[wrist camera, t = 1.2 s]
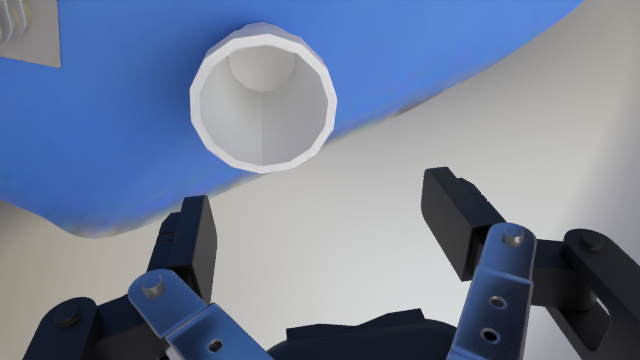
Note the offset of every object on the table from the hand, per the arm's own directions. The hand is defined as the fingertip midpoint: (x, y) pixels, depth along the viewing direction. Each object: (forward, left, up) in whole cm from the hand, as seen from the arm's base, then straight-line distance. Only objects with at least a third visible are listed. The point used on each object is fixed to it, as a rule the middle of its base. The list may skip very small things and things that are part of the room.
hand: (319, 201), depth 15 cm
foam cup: (0, -2, -26) cm, 26 cm away
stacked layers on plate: (-14, -18, -26) cm, 34 cm away
